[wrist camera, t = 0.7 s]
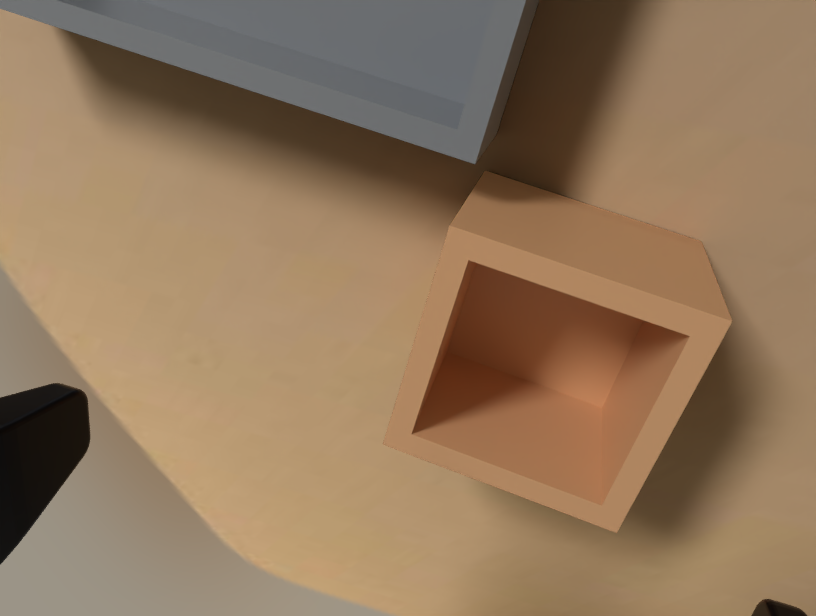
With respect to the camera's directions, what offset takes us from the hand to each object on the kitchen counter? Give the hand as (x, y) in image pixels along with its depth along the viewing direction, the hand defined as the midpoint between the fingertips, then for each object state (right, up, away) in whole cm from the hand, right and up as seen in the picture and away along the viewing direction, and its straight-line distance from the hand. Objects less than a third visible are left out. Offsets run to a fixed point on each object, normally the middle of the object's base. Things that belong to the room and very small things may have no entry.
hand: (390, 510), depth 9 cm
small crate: (+4, +3, +11) cm, 12 cm away
